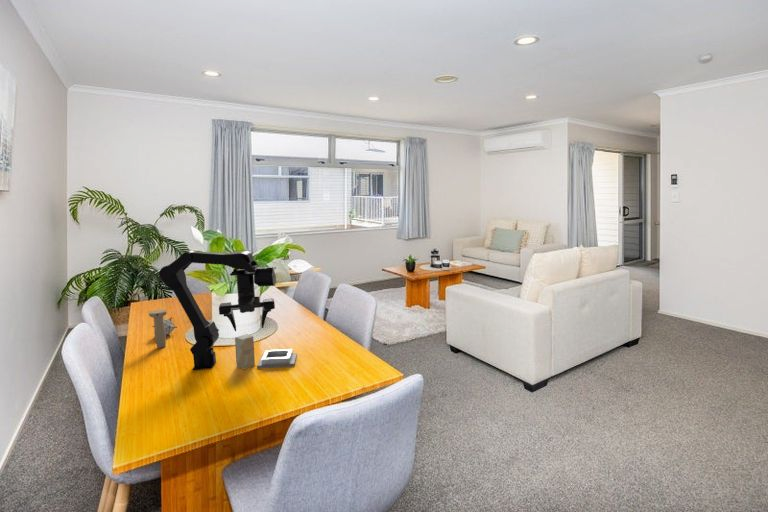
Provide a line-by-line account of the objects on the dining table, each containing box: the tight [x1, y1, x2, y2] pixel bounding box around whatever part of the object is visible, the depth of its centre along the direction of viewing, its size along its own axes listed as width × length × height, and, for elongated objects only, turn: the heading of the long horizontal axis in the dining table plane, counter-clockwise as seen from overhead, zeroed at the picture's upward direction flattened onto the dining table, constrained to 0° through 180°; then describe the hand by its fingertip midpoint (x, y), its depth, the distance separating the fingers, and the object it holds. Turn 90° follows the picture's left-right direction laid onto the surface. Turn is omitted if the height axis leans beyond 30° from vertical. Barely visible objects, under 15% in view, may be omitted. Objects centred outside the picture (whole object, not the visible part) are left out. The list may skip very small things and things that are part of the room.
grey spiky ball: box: [151, 317, 178, 337], centre depth 187 cm, size 9×8×10 cm
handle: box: [148, 309, 168, 349], centre depth 172 cm, size 5×6×15 cm
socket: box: [256, 348, 298, 369], centre depth 156 cm, size 13×10×3 cm
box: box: [234, 333, 256, 370], centre depth 152 cm, size 5×4×11 cm
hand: (249, 329), depth 152 cm, fingers open, 9 cm apart
